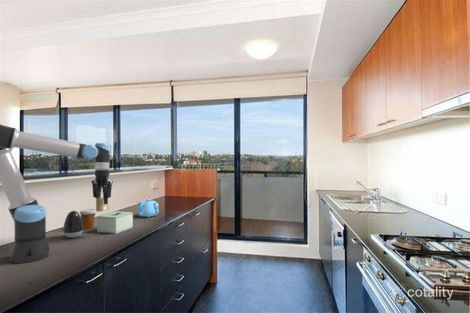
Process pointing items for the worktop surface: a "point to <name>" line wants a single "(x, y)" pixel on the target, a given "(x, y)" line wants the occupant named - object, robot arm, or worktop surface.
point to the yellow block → (99, 205)
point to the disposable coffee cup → (87, 218)
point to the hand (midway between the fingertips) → (101, 209)
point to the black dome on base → (73, 225)
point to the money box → (114, 222)
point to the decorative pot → (147, 208)
